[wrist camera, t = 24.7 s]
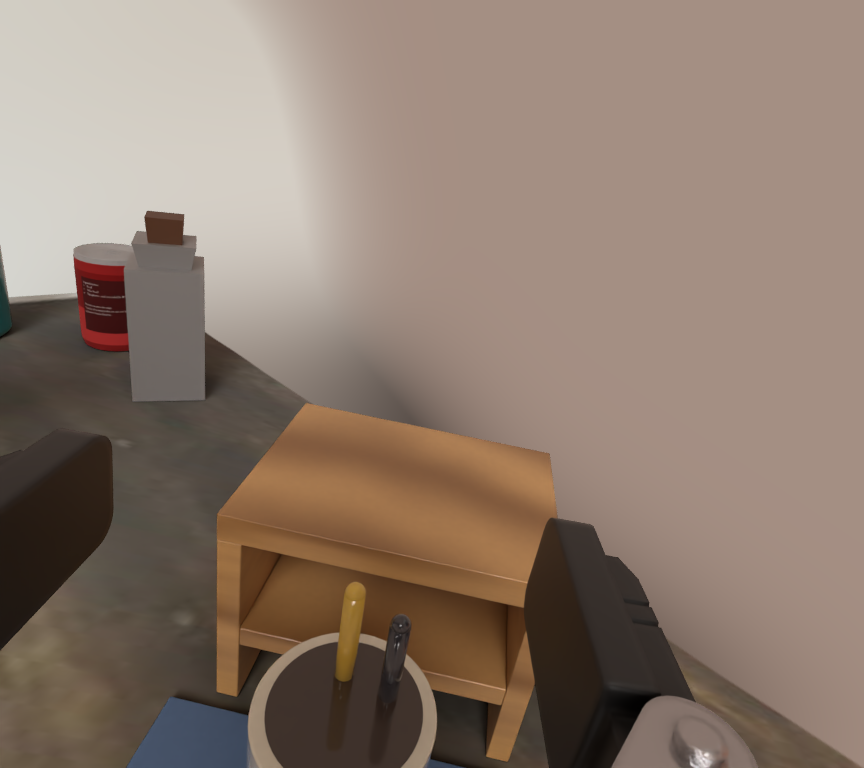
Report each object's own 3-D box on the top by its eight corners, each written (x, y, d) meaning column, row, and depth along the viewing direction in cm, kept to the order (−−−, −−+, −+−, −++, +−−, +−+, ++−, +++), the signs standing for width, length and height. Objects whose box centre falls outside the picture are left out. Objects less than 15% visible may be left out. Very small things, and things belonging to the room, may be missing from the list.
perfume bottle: (205, 400, 58) (203, 226, 51) (132, 401, 56) (120, 218, 48) (204, 373, 64) (203, 213, 57) (138, 373, 61) (128, 205, 54)
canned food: (134, 325, 73) (129, 241, 69) (165, 345, 69) (162, 257, 65) (70, 334, 68) (60, 244, 63) (99, 357, 63) (91, 261, 59)
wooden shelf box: (508, 762, 29) (567, 591, 24) (216, 692, 30) (216, 513, 25) (509, 594, 40) (549, 453, 35) (295, 546, 41) (305, 402, 36)
